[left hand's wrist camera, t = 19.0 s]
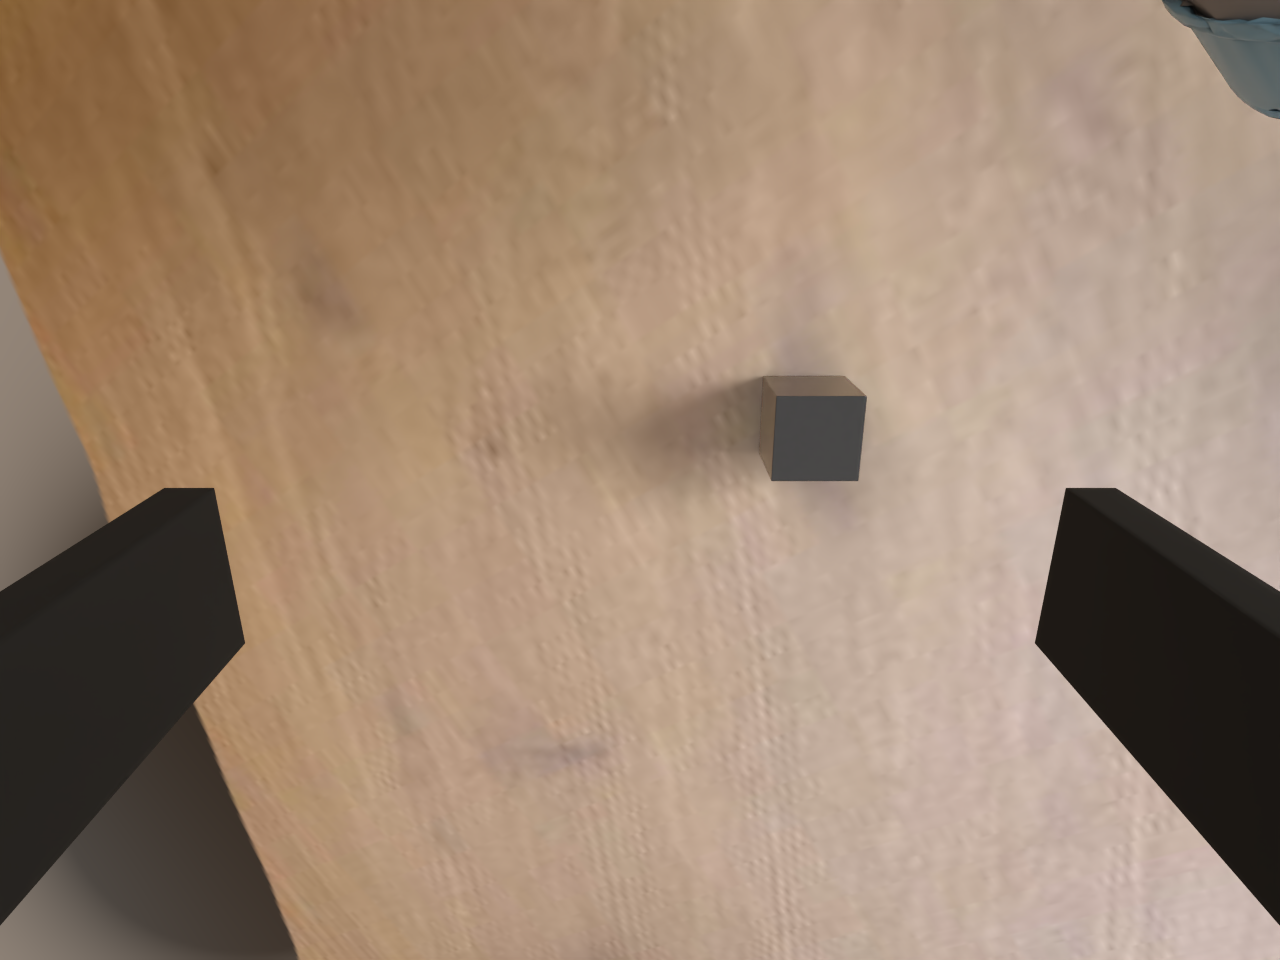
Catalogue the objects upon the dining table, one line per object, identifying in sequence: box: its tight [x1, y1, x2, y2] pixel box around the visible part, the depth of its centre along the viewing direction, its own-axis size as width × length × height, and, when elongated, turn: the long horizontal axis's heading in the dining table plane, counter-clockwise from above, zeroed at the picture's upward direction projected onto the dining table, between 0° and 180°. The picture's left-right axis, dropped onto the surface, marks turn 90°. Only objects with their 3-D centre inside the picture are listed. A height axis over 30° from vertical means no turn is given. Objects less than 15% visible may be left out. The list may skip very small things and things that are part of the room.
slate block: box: [759, 376, 867, 481], centre depth 37 cm, size 4×4×4 cm
